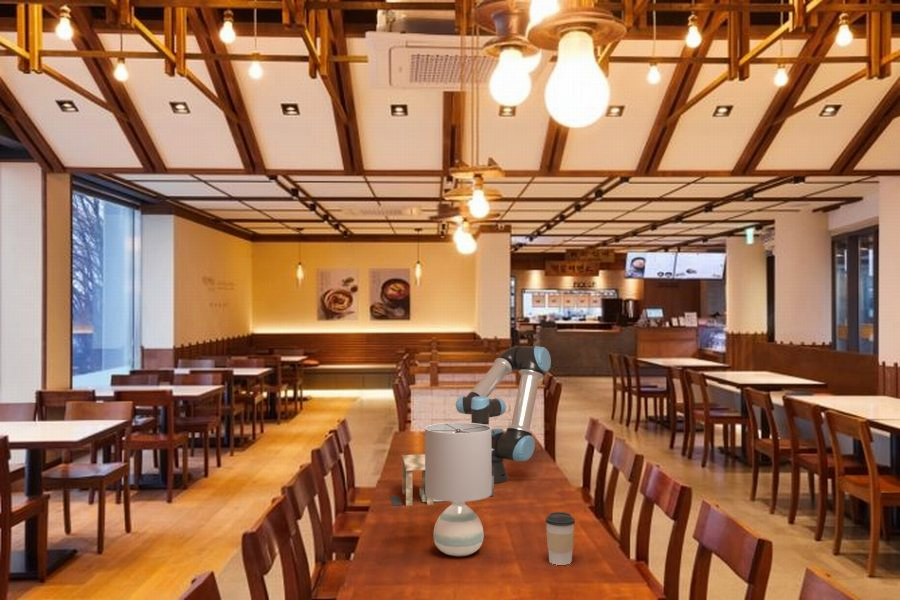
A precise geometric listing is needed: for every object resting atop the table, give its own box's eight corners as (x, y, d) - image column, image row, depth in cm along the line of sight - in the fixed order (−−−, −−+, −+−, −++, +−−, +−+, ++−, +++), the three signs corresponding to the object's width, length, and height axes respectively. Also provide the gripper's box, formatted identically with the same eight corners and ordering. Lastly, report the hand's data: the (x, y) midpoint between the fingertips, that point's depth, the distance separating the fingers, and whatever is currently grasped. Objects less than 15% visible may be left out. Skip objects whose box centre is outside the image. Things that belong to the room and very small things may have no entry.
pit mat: (399, 496, 308) (399, 495, 308) (402, 505, 294) (402, 504, 294) (390, 496, 308) (390, 496, 308) (392, 505, 294) (392, 505, 294)
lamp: (440, 567, 223) (440, 435, 223) (415, 546, 243) (415, 425, 243) (503, 557, 231) (503, 430, 232) (474, 538, 251) (473, 421, 252)
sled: (490, 491, 315) (490, 472, 316) (497, 499, 302) (496, 479, 302) (419, 493, 311) (419, 475, 311) (422, 502, 298) (422, 482, 298)
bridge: (427, 491, 317) (427, 454, 317) (433, 505, 293) (433, 465, 293) (402, 492, 315) (402, 455, 316) (406, 506, 292) (406, 466, 292)
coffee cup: (543, 557, 231) (542, 510, 232) (571, 556, 232) (570, 509, 232) (549, 567, 222) (549, 518, 223) (578, 566, 223) (578, 517, 223)
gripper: (493, 431, 313) (493, 486, 313) (463, 432, 311) (463, 487, 311) (496, 434, 306) (497, 491, 305) (466, 435, 304) (466, 492, 304)
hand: (480, 489), depth 308 cm, fingers closed
